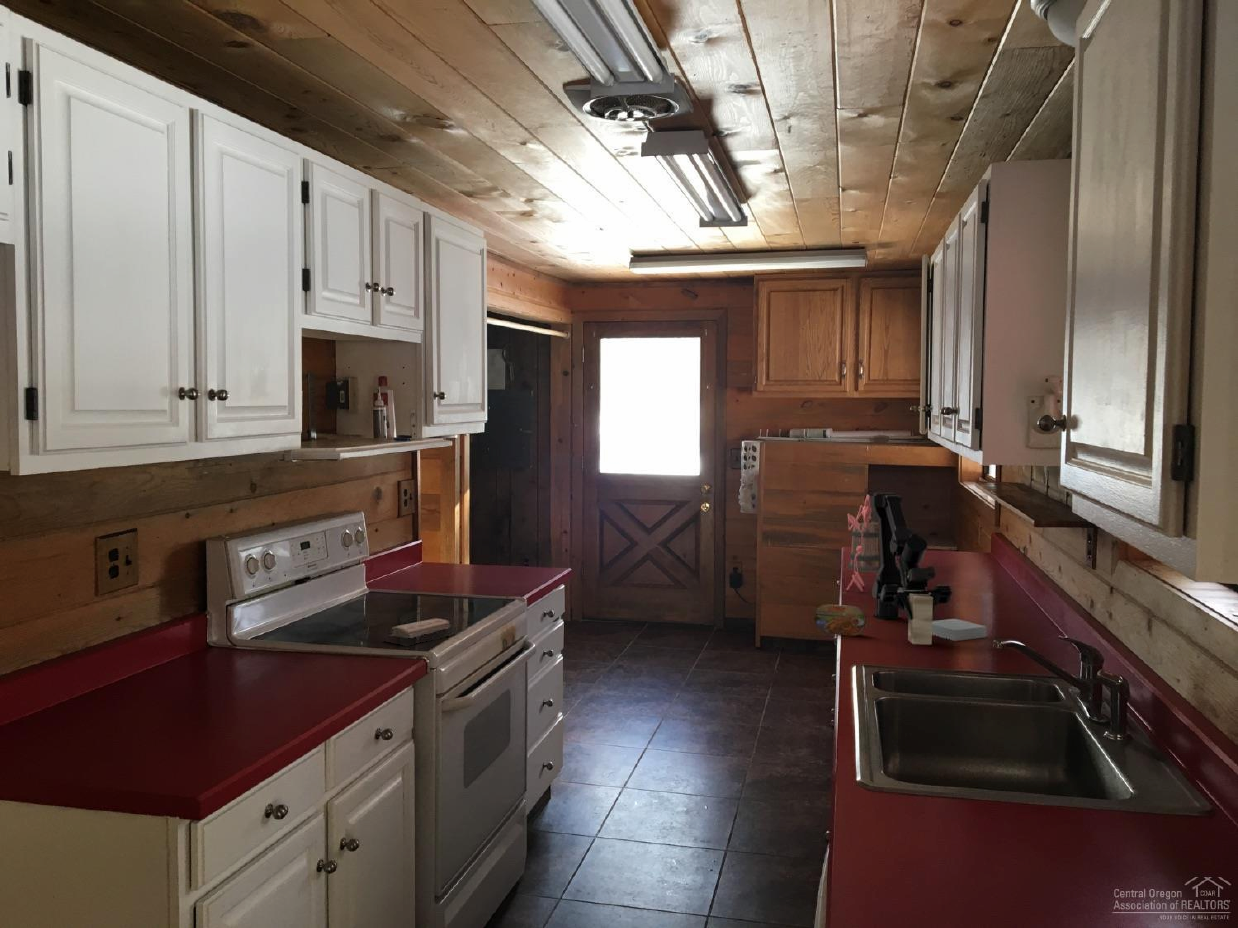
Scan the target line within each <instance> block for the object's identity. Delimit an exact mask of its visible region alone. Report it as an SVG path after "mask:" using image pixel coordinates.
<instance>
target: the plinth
mask: <svg viewBox="0 0 1238 928" xmlns="http://www.w3.org/2000/svg"><path fill="white" fill-rule="evenodd" d="M987 632H988V631H987V626H986V625H981V624H977V623H975V622H974V623H973V622H970V621H966V620H961V619H958V618H949V619H947V618H946V619H941V620H932V636H935V635H936V636H935V637H938V636H939V638H942V639H946V638H947V639H946V640H949V639H950V640H949V641H953V642H957V641H965V640H967V641H968V640H973V639H974V640H975V639H980V638H986V637H987Z"/></svg>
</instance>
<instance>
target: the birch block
mask: <svg viewBox="0 0 1238 928" xmlns="http://www.w3.org/2000/svg"><path fill="white" fill-rule="evenodd" d="M908 602H909V606H910V609H911V612H912V617H913V619H912V620H910V619H909V618H908V624H907V625H908V626H907V628H908V630H907V632H908V633H907V640H908V641H909V642H910V643H911V644H912V645H932V643H933V642H932V641H933V639H932V638H933V635H932V621H933V619H932V610H933V597H931V596H930V595H928V594H909V597H908Z"/></svg>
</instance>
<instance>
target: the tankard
mask: <svg viewBox="0 0 1238 928" xmlns="http://www.w3.org/2000/svg"><path fill="white" fill-rule="evenodd" d="M858 523H859V525H860V530H861V531H862V532H863V541H862V547H863V548H864V551H863V552H862V553H859V555H858V556H857V557H856V559H857V567H858V570H859V571H879V569H880V567H881V561H880V545H879V528H878V521H872V520H869V522H868V526H867V528H865V527H864V520H861V521H858ZM861 537H862V533H861V532H860V531H858V530H857V529H856V528H855V527H852V530H851V551H850V555H849V558H850V563H848V564H847V567H846V568H849V569H852V570H854V558H855V554H857V553H858V552H857V551H856V548H857V547H858V546H861ZM900 557H901V556H896V561H897V562H896V566H897V567H898V559H899V558H900ZM856 559H855V570H857V567H856Z"/></svg>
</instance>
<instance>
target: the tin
mask: <svg viewBox="0 0 1238 928" xmlns="http://www.w3.org/2000/svg"><path fill="white" fill-rule="evenodd" d="M813 622H814V625H815V627H816V629H817V630H818V631H820V632H821V633H823V634H827V635H828V634H829V635H838V636H846V637H847V636H848V637H849V636H850V637H854V636H859V635H860V634H862V633H863V632H864V631H865V630H866V628H867V624H868V617H867V615H866V613H865V612H864V610H863V609H861V608H860V607H858V606H853V605H841V604H840V605H839V604H822V605H820V606H819V607H818V608H817V609H816V610H815V612H814V615H813Z"/></svg>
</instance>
